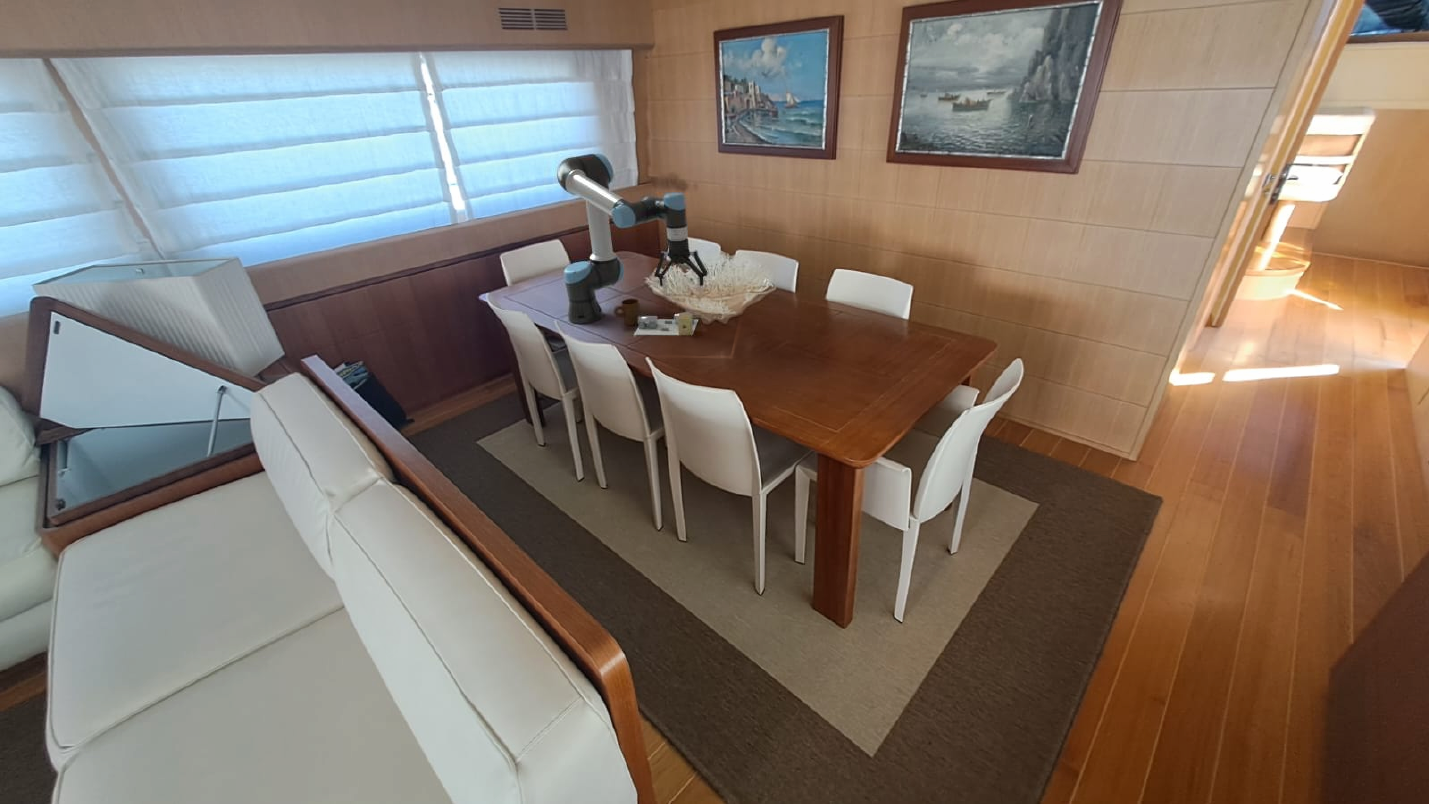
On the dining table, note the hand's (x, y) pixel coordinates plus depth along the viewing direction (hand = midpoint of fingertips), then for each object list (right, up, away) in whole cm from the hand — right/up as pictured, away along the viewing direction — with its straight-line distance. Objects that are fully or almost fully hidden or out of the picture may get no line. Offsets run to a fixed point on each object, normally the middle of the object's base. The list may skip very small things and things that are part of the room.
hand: (682, 294), depth 209 cm
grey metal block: (0, -9, +17) cm, 19 cm away
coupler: (+1, -14, +9) cm, 16 cm away
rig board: (-7, -12, +15) cm, 20 cm away
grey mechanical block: (-15, -10, +16) cm, 24 cm away
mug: (-24, -9, +22) cm, 34 cm away
